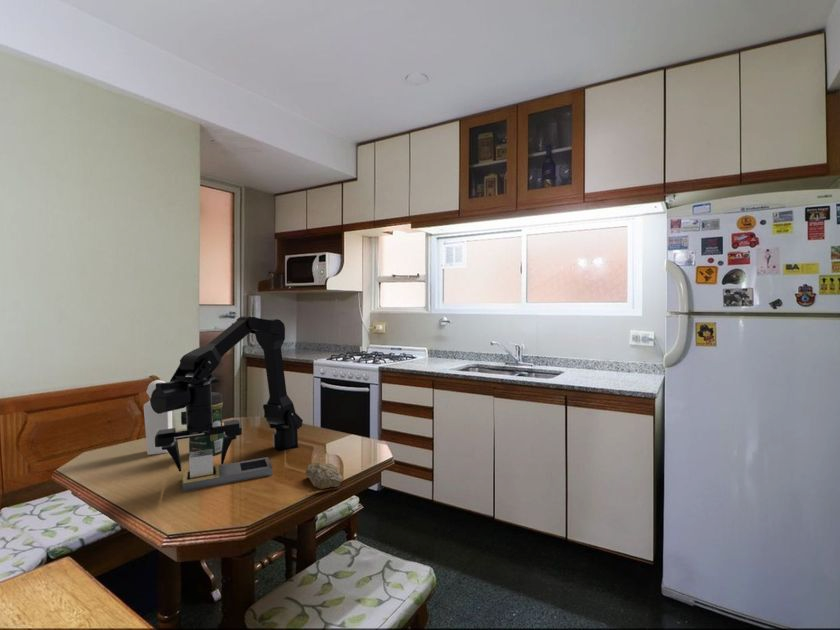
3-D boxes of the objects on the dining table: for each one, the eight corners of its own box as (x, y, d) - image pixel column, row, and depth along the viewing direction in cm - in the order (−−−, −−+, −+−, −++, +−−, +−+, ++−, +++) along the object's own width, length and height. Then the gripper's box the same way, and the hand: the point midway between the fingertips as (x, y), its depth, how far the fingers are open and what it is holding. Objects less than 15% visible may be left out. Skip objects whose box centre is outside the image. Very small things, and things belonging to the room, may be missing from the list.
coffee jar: (184, 455, 129) (181, 393, 129) (206, 447, 137) (204, 388, 136) (207, 459, 125) (204, 395, 125) (229, 450, 133) (227, 389, 132)
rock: (317, 495, 99) (316, 475, 99) (301, 479, 108) (301, 462, 108) (348, 486, 103) (348, 468, 103) (330, 472, 112) (330, 455, 112)
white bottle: (174, 446, 139) (171, 377, 138) (169, 453, 132) (166, 380, 132) (151, 449, 136) (148, 379, 136) (145, 456, 130) (142, 382, 130)
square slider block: (213, 476, 111) (212, 448, 110) (213, 483, 106) (212, 454, 106) (191, 480, 108) (190, 452, 108) (190, 487, 104) (189, 458, 104)
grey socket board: (268, 465, 118) (267, 456, 118) (272, 476, 110) (272, 466, 110) (184, 480, 110) (184, 470, 109) (182, 493, 101) (182, 482, 101)
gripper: (238, 394, 118) (240, 451, 119) (158, 403, 110) (161, 464, 110) (240, 401, 108) (243, 464, 108) (153, 411, 100) (156, 479, 100)
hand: (201, 467), depth 107 cm, fingers open, 9 cm apart
